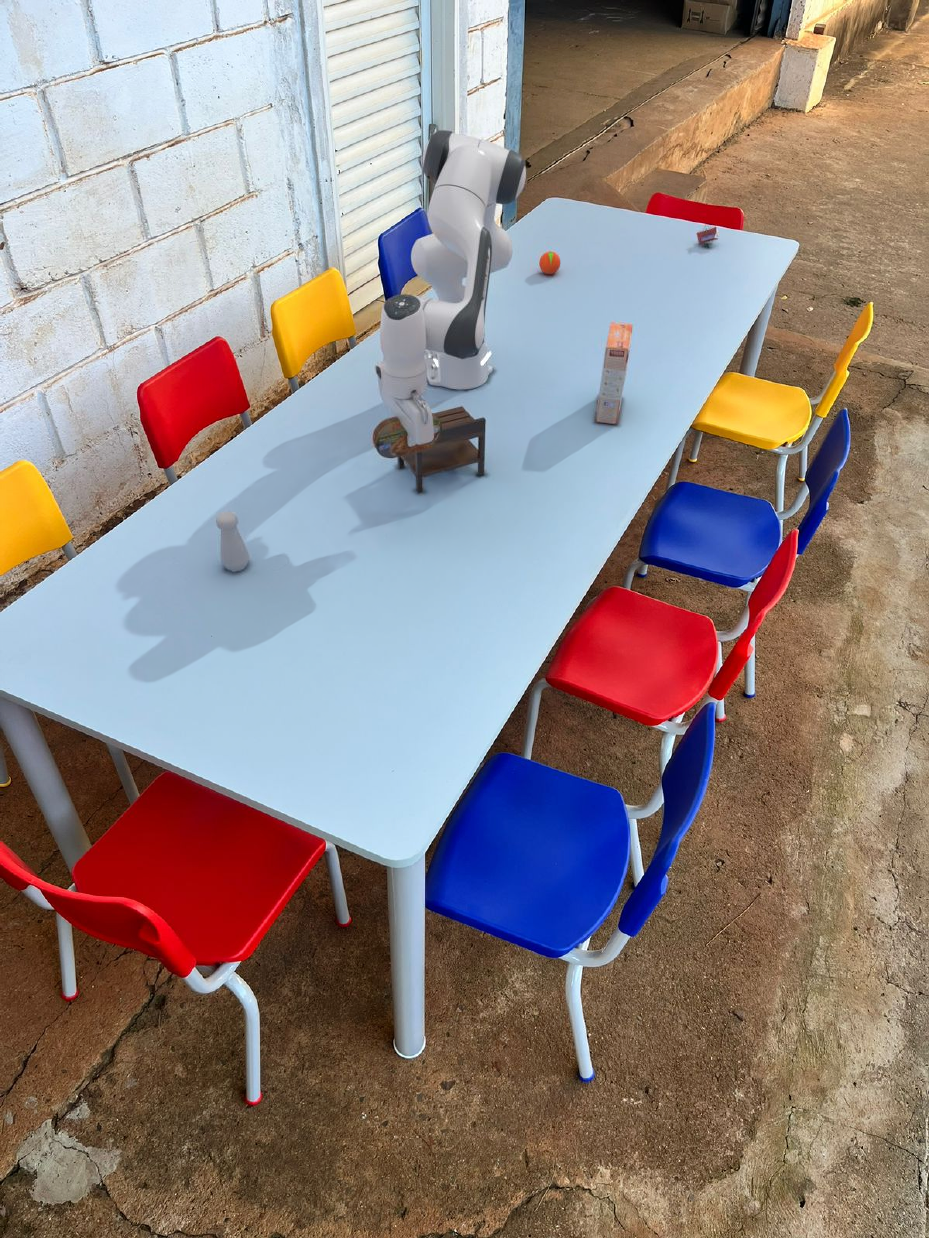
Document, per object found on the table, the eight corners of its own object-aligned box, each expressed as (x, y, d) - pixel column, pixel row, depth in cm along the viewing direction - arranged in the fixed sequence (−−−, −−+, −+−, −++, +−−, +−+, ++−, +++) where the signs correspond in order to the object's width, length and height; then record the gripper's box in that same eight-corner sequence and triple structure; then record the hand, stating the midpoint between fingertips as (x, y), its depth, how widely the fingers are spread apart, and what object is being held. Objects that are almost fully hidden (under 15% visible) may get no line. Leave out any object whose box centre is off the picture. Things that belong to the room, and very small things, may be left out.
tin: (377, 462, 186) (375, 428, 180) (371, 454, 188) (369, 420, 181) (442, 445, 190) (443, 412, 184) (436, 437, 192) (436, 404, 186)
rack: (397, 466, 213) (394, 411, 202) (461, 449, 218) (462, 394, 208) (418, 493, 205) (416, 437, 194) (484, 475, 210) (485, 419, 200)
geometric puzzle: (691, 241, 309) (709, 223, 304) (691, 234, 314) (708, 216, 309) (706, 255, 311) (724, 238, 306) (705, 247, 316) (723, 230, 311)
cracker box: (618, 426, 226) (629, 349, 212) (594, 423, 227) (604, 346, 213) (622, 398, 236) (633, 323, 222) (599, 395, 237) (609, 320, 223)
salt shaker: (237, 578, 183) (226, 528, 174) (216, 568, 185) (204, 518, 176) (256, 562, 187) (246, 512, 178) (235, 553, 189) (224, 503, 180)
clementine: (560, 279, 291) (562, 257, 286) (539, 279, 291) (540, 257, 286) (558, 269, 296) (560, 247, 291) (538, 269, 296) (539, 247, 291)
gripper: (441, 401, 172) (441, 461, 181) (399, 354, 185) (402, 412, 194) (411, 409, 170) (413, 469, 179) (371, 360, 183) (375, 419, 192)
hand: (407, 439), depth 187 cm, fingers closed on tin, 2 cm apart
